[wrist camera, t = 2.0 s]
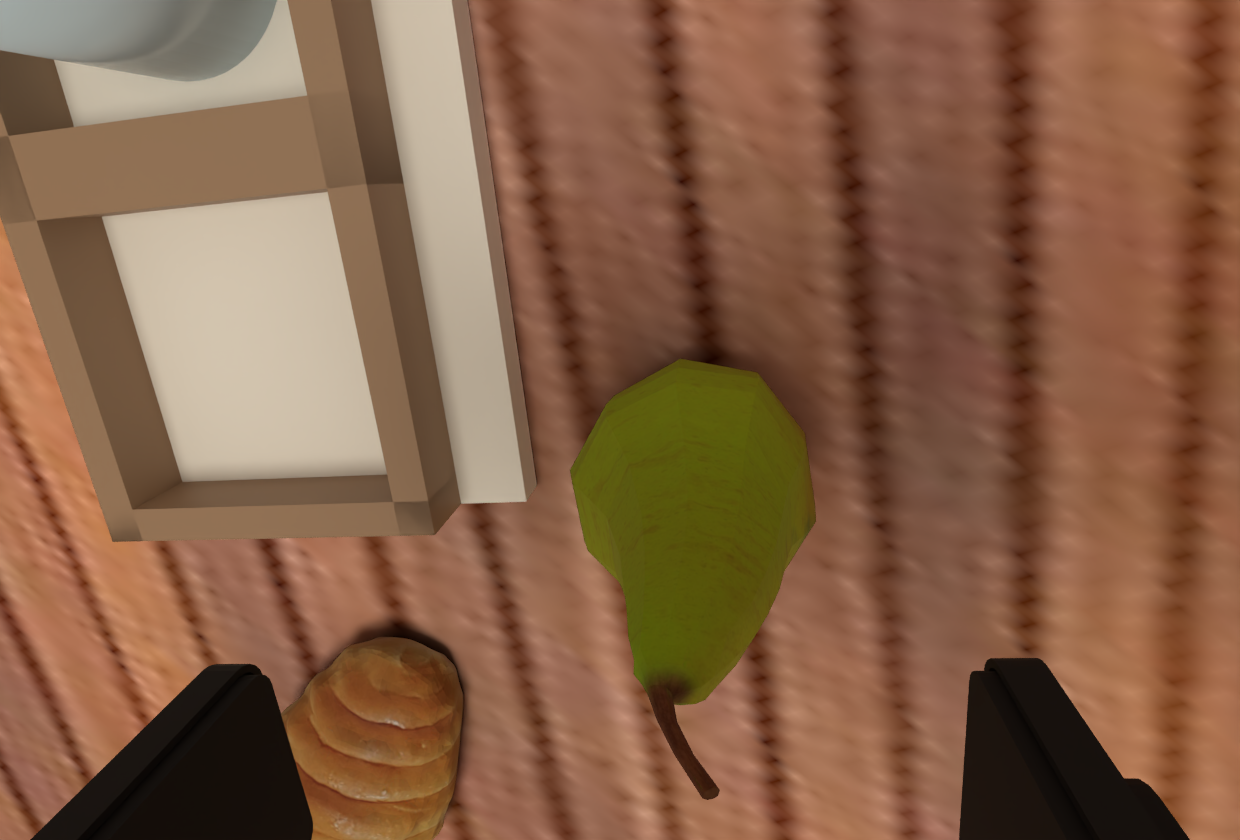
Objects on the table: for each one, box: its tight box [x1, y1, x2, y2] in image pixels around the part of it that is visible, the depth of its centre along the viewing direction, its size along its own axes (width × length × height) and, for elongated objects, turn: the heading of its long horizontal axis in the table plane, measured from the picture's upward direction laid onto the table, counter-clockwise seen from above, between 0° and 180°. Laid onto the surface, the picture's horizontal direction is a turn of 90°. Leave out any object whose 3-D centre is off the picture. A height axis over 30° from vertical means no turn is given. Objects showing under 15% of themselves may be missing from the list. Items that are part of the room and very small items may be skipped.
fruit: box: [570, 359, 816, 800], centre depth 15 cm, size 6×6×12 cm
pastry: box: [281, 637, 463, 840], centre depth 25 cm, size 9×7×4 cm
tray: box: [0, 0, 537, 542], centre depth 19 cm, size 14×20×3 cm
